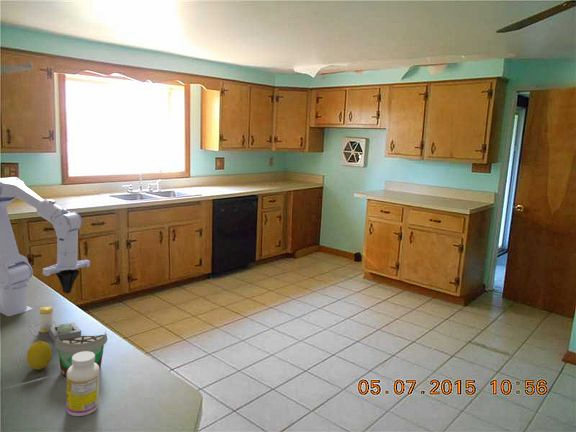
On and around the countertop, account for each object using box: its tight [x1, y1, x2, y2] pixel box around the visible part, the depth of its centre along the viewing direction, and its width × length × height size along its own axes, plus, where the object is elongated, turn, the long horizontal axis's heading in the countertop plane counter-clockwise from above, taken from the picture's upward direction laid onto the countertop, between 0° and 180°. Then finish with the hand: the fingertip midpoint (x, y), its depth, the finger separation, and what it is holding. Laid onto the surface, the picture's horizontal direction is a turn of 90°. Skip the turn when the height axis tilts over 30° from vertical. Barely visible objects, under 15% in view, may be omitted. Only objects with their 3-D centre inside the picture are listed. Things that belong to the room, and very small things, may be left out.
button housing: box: [48, 321, 82, 344], centre depth 129 cm, size 7×7×2 cm
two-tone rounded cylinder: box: [39, 305, 54, 334], centre depth 131 cm, size 4×4×7 cm
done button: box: [57, 324, 72, 334], centre depth 129 cm, size 4×4×3 cm
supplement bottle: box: [65, 351, 101, 417], centre depth 97 cm, size 7×7×13 cm
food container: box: [54, 332, 108, 379], centre depth 110 cm, size 12×6×10 cm, turn 117°
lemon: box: [26, 340, 53, 371], centre depth 110 cm, size 6×6×8 cm
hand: (66, 292), depth 137 cm, fingers closed
